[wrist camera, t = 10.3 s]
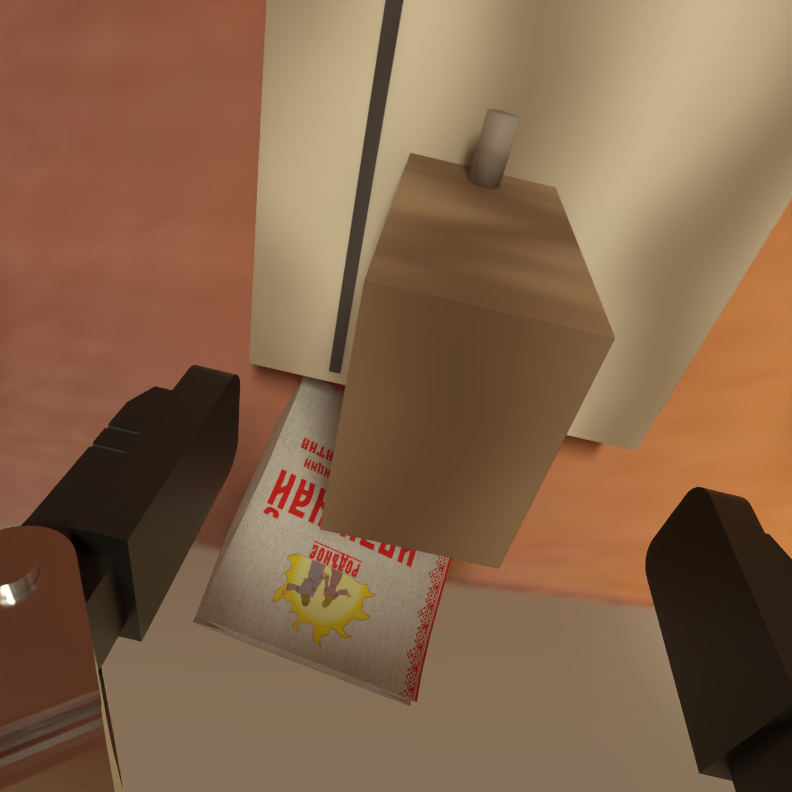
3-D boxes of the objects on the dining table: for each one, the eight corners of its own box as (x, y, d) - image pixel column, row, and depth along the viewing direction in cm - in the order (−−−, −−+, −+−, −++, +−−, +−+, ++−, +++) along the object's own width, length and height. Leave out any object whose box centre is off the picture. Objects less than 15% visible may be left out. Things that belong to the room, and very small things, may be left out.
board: (1122, -457, 10) (1256, -546, 8) (624, 416, 22) (636, 452, 20) (334, -678, 9) (304, -820, 8) (265, 334, 21) (247, 364, 20)
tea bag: (411, 492, 26) (382, 727, 18) (274, 427, 24) (175, 649, 16) (455, 441, 24) (446, 680, 16) (308, 366, 22) (215, 586, 14)
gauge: (578, 124, 14) (664, 241, 8) (490, 367, 19) (499, 568, 12) (423, 86, 14) (383, 174, 8) (372, 341, 19) (319, 529, 12)
